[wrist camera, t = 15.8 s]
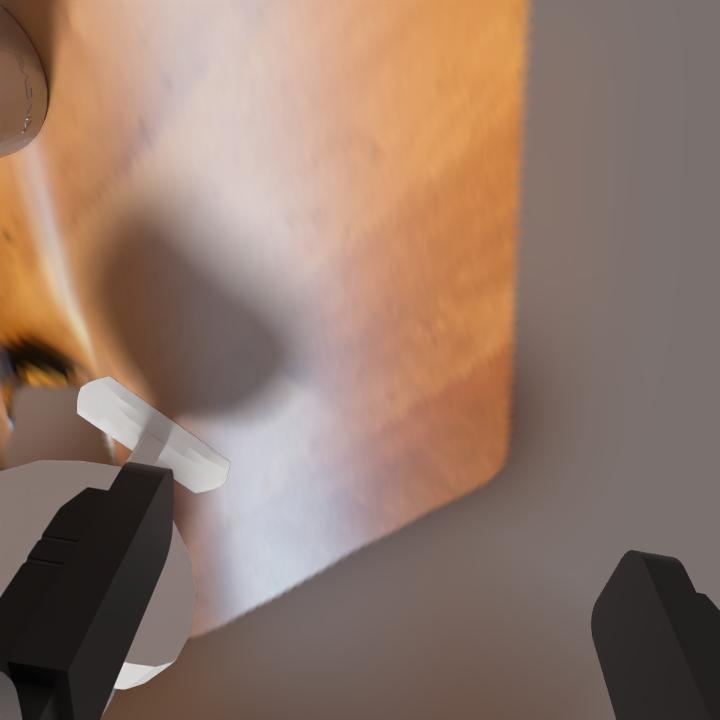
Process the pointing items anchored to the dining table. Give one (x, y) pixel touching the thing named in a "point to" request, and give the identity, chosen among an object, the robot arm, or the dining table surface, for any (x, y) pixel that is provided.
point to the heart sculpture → (68, 478)
